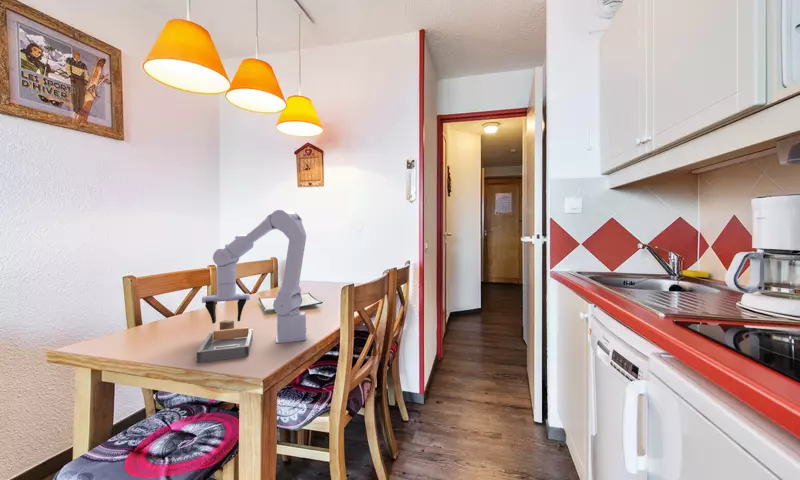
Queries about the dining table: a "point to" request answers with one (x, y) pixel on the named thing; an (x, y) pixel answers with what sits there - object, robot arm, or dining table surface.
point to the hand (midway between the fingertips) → (226, 321)
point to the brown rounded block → (227, 324)
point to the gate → (230, 333)
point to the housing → (224, 348)
